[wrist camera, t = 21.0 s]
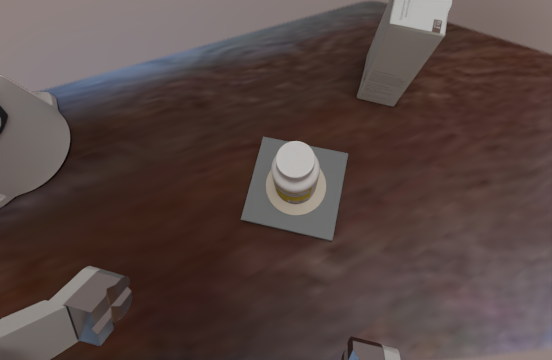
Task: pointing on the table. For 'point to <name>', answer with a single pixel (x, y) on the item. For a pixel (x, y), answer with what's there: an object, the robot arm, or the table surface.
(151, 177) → the table surface
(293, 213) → the board
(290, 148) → the supplement bottle
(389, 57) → the skincare box
